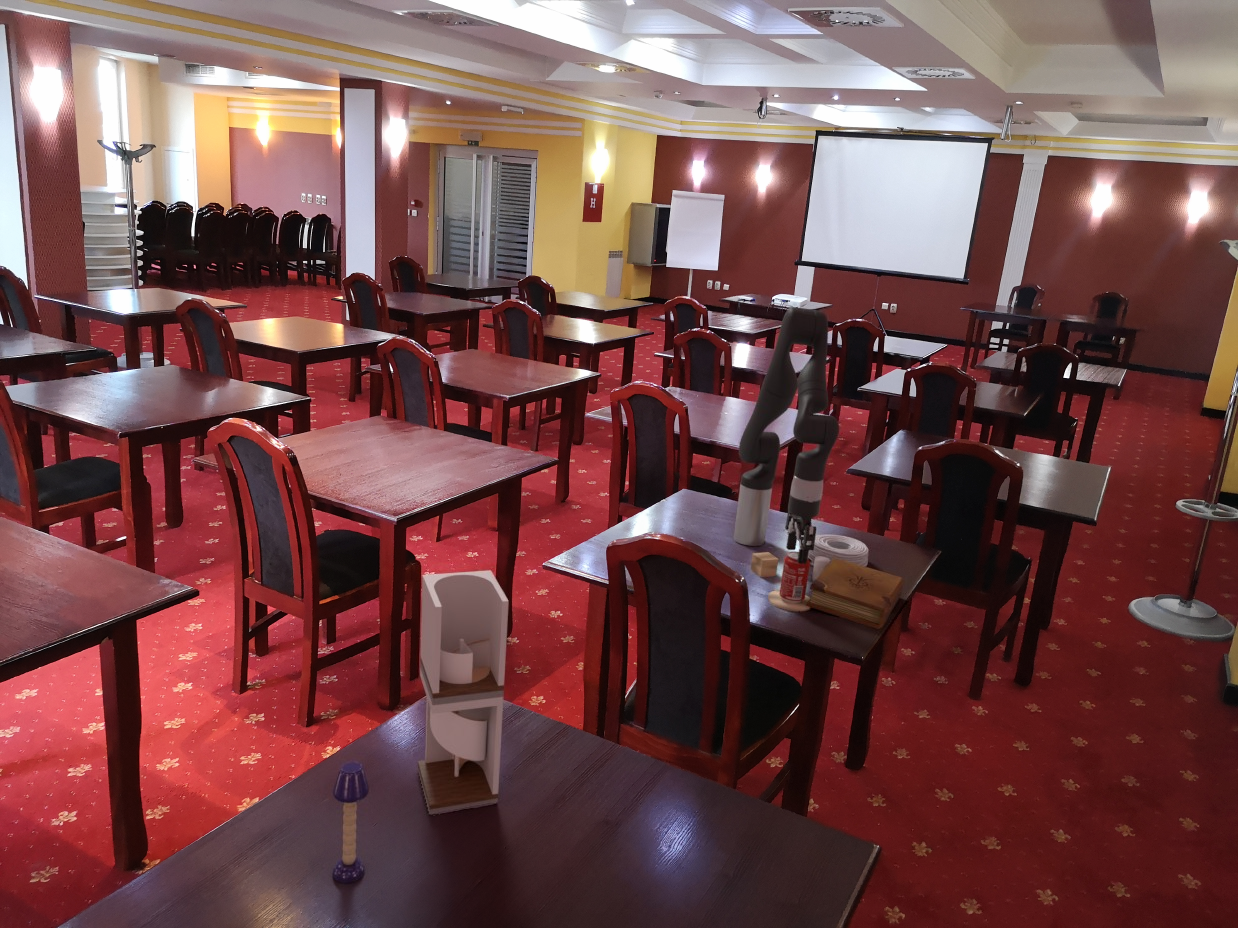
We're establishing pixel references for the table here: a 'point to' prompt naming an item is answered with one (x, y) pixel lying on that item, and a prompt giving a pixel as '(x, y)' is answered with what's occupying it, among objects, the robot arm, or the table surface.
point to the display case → (462, 687)
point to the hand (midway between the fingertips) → (796, 556)
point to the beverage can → (794, 579)
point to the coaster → (780, 603)
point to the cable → (839, 549)
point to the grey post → (819, 566)
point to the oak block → (764, 564)
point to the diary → (856, 593)
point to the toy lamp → (350, 819)
